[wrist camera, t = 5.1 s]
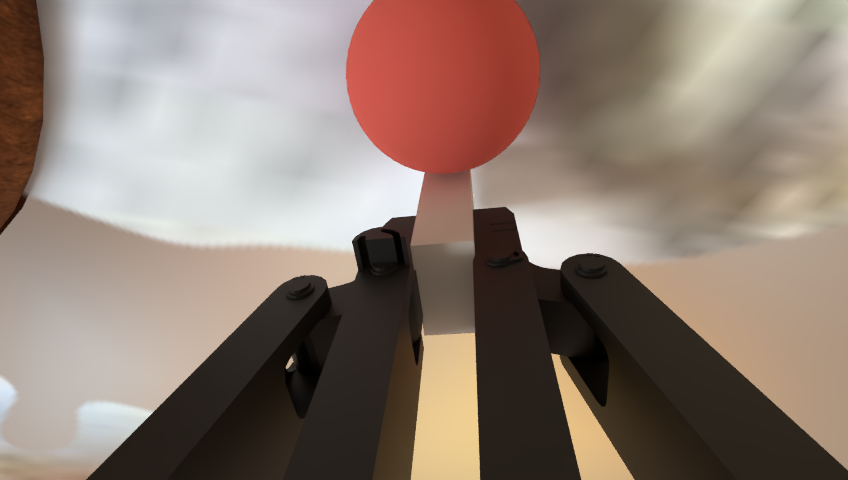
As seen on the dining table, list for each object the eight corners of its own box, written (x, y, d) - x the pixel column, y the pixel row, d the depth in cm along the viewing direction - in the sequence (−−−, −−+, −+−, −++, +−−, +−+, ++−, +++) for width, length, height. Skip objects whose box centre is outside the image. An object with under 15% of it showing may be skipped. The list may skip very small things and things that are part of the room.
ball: (355, 0, 16) (300, -36, 11) (523, -25, 15) (552, -77, 10) (380, 164, 18) (342, 203, 12) (531, 149, 17) (559, 182, 12)
